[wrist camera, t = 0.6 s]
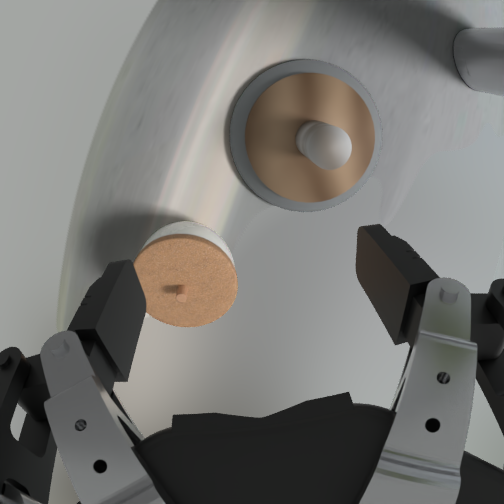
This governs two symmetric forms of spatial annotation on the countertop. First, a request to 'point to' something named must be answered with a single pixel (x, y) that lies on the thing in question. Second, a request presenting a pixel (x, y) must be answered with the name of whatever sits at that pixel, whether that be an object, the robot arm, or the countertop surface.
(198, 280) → the lidded jar
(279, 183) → the walnut lid
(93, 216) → the countertop surface
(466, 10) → the countertop surface
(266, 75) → the rubber mat
